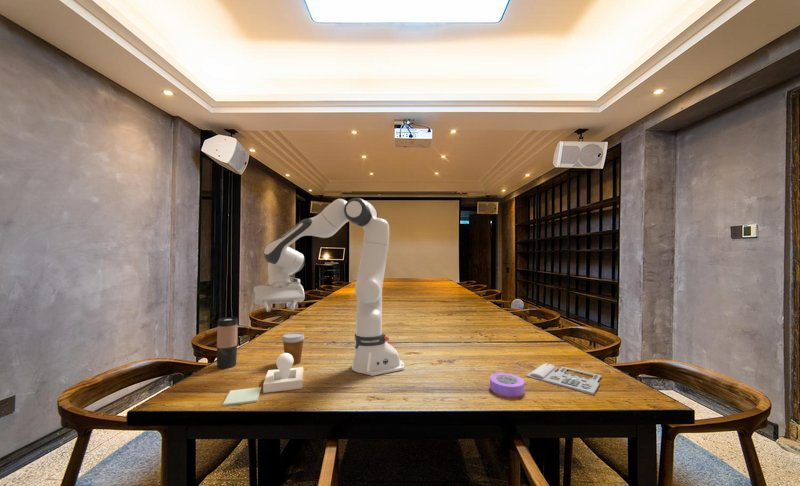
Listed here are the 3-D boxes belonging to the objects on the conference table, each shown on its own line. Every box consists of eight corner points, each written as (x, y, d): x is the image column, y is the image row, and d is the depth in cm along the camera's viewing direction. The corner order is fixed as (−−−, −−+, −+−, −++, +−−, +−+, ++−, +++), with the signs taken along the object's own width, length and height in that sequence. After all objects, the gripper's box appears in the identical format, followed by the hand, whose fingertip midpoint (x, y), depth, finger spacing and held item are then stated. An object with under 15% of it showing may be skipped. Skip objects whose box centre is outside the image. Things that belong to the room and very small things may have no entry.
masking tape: (521, 400, 103) (521, 389, 103) (486, 392, 109) (486, 381, 109) (526, 387, 113) (526, 376, 113) (493, 380, 119) (493, 370, 119)
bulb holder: (303, 374, 123) (303, 366, 123) (302, 388, 111) (302, 379, 111) (267, 378, 119) (268, 370, 119) (263, 392, 107) (263, 384, 107)
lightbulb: (287, 387, 111) (287, 356, 112) (272, 385, 113) (272, 355, 113) (296, 380, 117) (296, 351, 118) (281, 379, 119) (282, 350, 119)
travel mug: (240, 364, 134) (241, 317, 134) (224, 370, 127) (225, 321, 127) (228, 361, 137) (230, 316, 138) (212, 367, 130) (213, 319, 131)
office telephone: (525, 371, 123) (543, 359, 137) (525, 378, 123) (543, 365, 137) (593, 388, 107) (604, 372, 121) (593, 396, 107) (605, 379, 121)
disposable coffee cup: (308, 361, 138) (309, 334, 138) (291, 367, 130) (291, 339, 130) (294, 357, 143) (295, 331, 144) (276, 363, 135) (277, 335, 135)
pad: (261, 388, 110) (261, 387, 110) (257, 401, 100) (257, 400, 100) (230, 392, 107) (230, 390, 107) (222, 406, 98) (222, 404, 98)
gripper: (253, 280, 131) (253, 307, 122) (303, 279, 140) (306, 304, 131) (253, 289, 135) (253, 316, 126) (301, 287, 144) (304, 312, 135)
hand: (280, 310), depth 129 cm, fingers open, 8 cm apart
